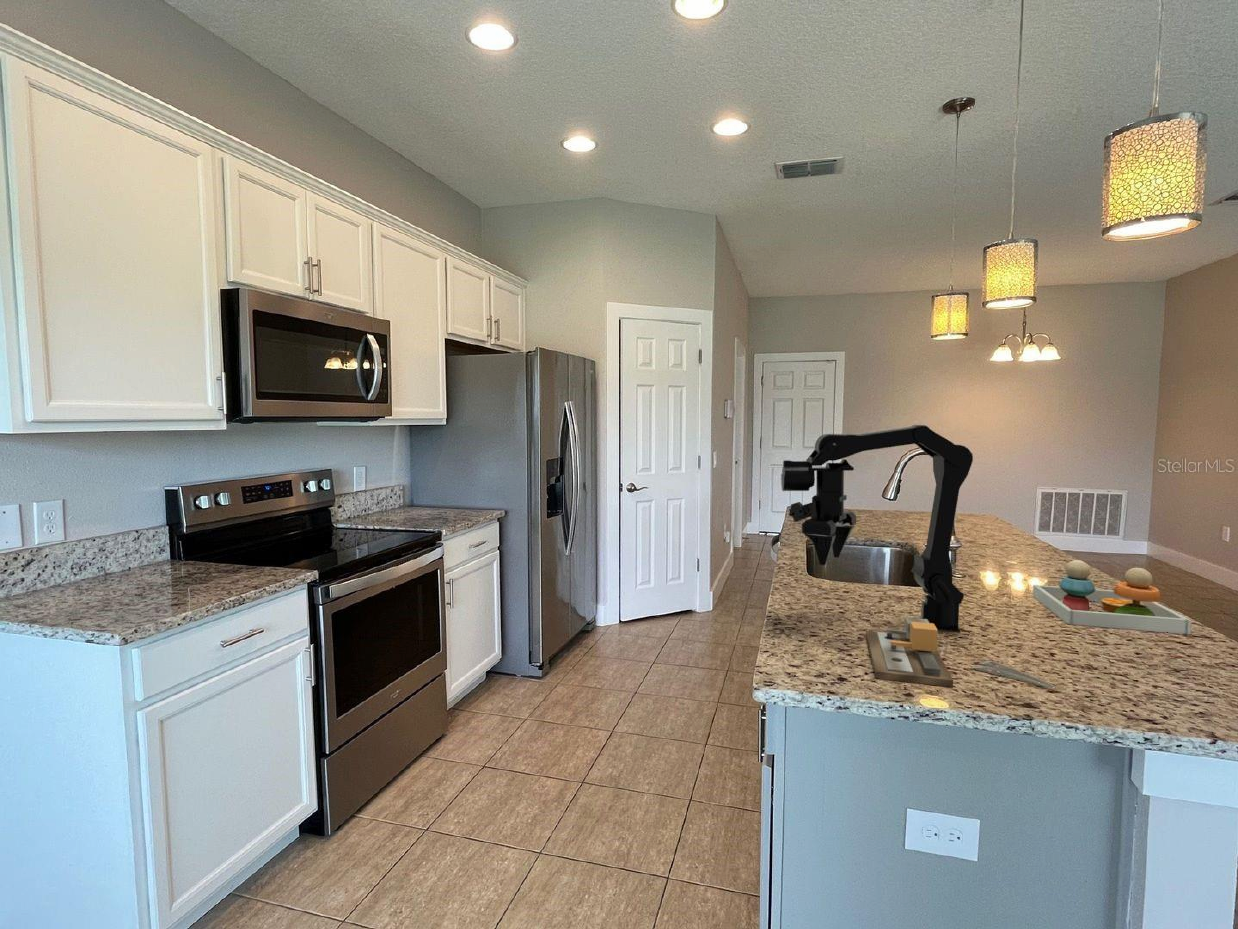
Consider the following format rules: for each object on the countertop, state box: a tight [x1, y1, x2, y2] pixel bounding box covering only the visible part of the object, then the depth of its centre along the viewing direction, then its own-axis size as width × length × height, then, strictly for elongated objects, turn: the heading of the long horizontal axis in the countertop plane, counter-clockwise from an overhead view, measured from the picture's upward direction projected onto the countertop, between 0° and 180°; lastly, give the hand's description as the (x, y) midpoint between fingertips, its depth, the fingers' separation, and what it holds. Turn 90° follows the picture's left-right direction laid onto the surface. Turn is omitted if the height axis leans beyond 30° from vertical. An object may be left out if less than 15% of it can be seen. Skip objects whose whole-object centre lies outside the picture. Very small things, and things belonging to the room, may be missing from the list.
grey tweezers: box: [971, 660, 1070, 693], centre depth 106 cm, size 17×5×2 cm, turn 38°
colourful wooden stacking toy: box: [1058, 559, 1162, 616], centre depth 144 cm, size 18×17×12 cm
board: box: [865, 616, 954, 688], centre depth 116 cm, size 12×22×5 cm, turn 162°
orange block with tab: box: [891, 621, 939, 652], centre depth 115 cm, size 8×4×5 cm, turn 72°
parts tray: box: [1032, 584, 1192, 635], centre depth 144 cm, size 22×23×3 cm
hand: (829, 561), depth 137 cm, fingers open, 9 cm apart
